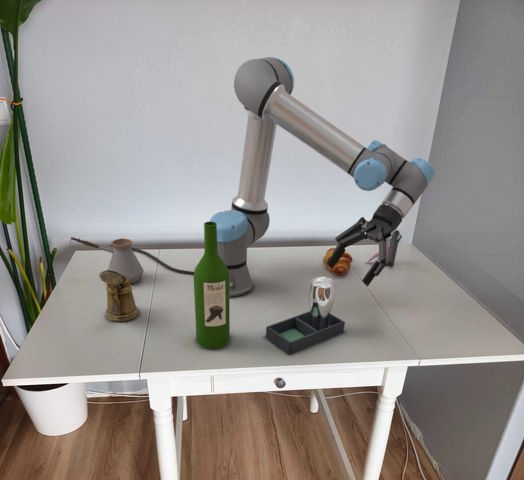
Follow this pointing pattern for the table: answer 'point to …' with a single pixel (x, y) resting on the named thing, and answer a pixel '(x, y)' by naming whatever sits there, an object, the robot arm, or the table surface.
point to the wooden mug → (119, 297)
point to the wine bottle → (211, 294)
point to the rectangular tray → (296, 340)
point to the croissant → (342, 263)
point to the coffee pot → (121, 258)
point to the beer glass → (321, 301)
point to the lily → (378, 252)
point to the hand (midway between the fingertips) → (346, 274)
